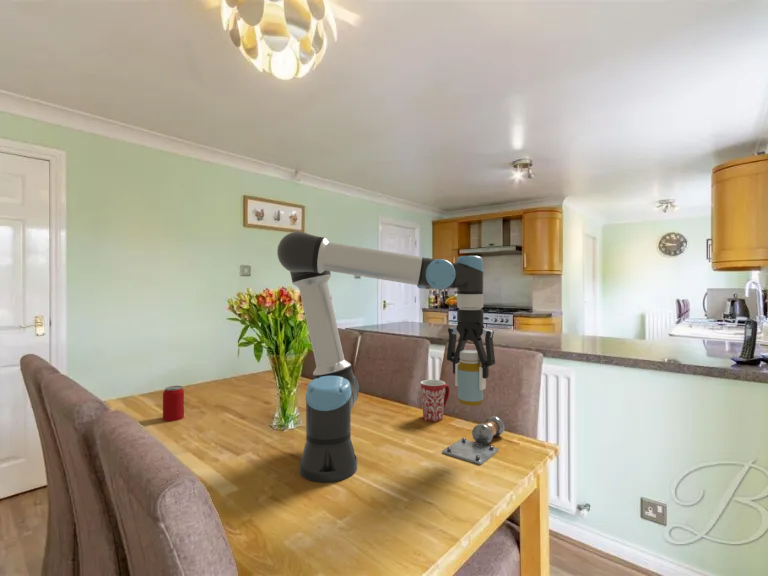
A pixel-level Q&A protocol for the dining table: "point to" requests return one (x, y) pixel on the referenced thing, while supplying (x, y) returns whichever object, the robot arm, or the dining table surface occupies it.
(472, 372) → the bottle
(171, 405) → the beverage can
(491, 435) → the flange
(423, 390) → the mug
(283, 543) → the dining table surface
